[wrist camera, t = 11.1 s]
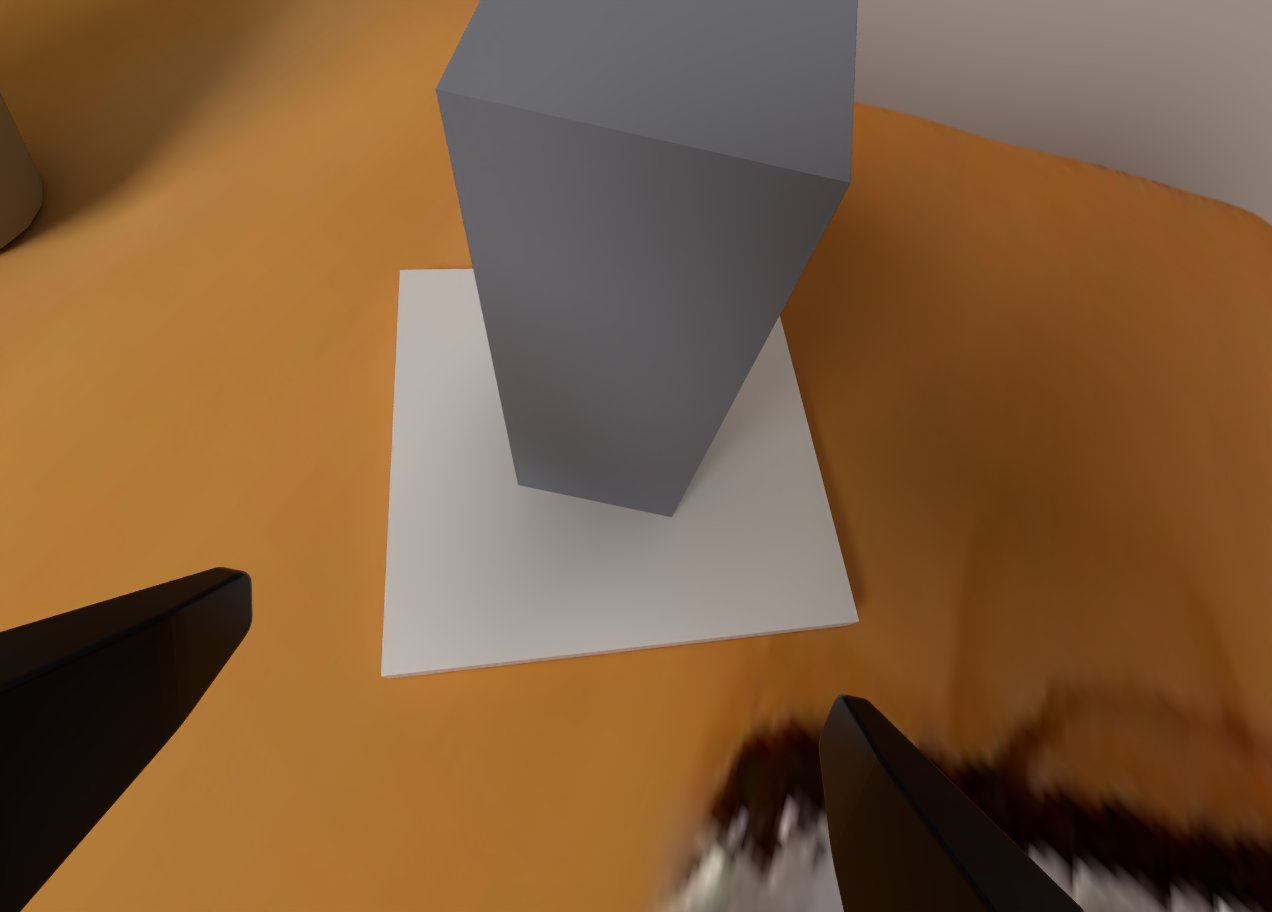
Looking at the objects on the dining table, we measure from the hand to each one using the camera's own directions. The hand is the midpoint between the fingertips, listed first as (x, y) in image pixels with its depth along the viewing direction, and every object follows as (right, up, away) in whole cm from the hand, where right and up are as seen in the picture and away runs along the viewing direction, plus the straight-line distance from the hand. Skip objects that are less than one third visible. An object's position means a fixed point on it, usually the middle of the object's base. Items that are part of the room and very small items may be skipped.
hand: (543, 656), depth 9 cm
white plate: (0, +4, +12) cm, 12 cm away
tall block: (0, +4, +11) cm, 12 cm away
